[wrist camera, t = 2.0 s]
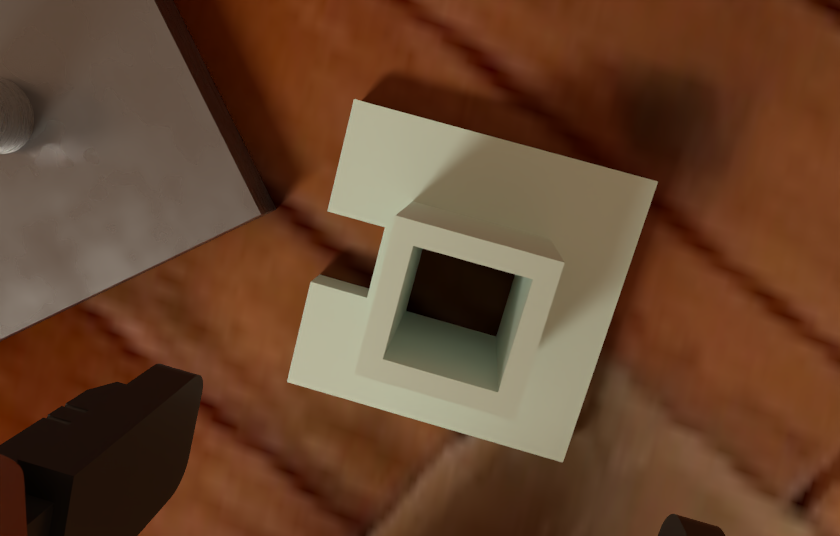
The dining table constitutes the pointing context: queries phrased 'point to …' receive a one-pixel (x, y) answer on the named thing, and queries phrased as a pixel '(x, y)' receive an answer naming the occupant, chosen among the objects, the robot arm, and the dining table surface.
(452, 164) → the flange plate
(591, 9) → the dining table surface
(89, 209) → the post fixture
